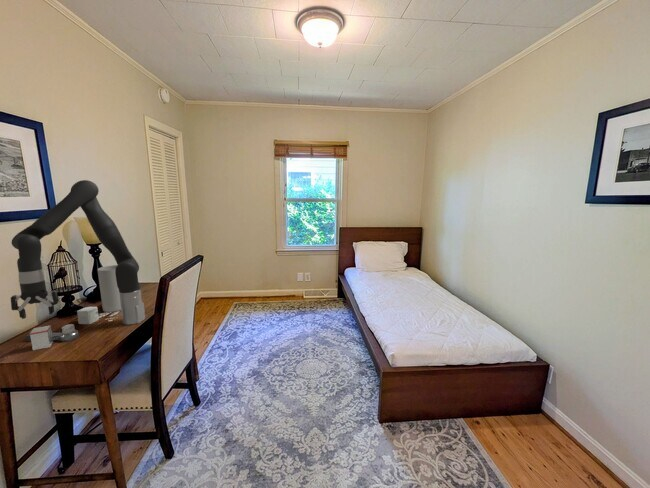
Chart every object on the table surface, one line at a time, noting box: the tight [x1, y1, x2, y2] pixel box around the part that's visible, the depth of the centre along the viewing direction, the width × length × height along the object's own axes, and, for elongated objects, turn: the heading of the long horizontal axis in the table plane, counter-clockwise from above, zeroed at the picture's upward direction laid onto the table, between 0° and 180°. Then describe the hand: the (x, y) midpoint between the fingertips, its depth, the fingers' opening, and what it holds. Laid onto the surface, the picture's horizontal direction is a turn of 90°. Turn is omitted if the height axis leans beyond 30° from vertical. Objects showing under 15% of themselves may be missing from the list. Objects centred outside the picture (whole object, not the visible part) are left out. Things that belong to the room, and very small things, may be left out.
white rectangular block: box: [29, 325, 54, 351], centre depth 124 cm, size 6×6×8 cm
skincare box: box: [76, 306, 100, 325], centre depth 148 cm, size 6×6×7 cm
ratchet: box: [24, 323, 80, 343], centre depth 130 cm, size 21×6×6 cm, turn 93°
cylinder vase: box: [97, 264, 121, 313], centre depth 164 cm, size 12×12×25 cm
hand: (37, 316), depth 122 cm, fingers open, 8 cm apart
